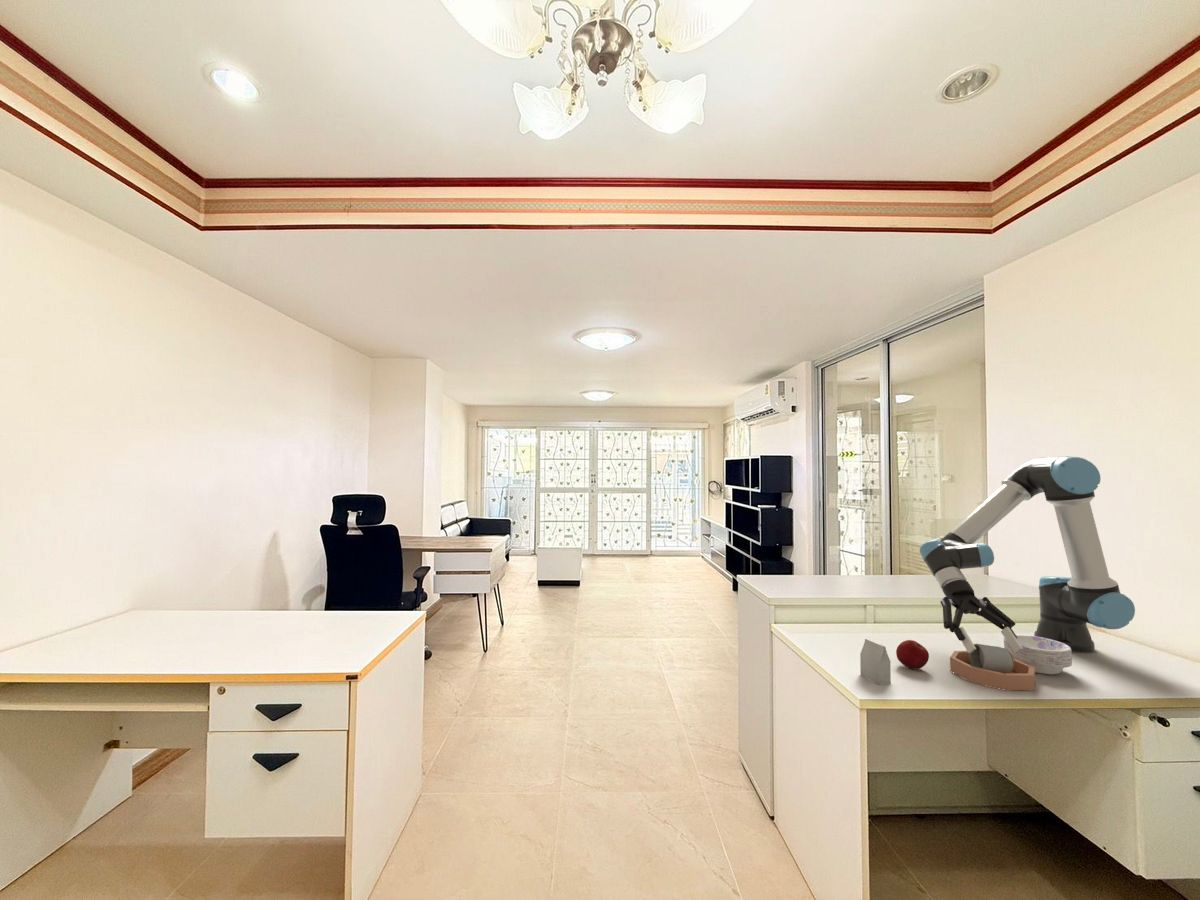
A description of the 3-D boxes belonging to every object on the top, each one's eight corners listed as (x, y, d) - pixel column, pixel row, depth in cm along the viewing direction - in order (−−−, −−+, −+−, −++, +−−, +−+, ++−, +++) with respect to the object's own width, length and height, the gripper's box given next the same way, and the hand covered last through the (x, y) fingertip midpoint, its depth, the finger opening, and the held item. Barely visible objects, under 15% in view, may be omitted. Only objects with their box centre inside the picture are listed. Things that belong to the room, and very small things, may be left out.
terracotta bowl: (996, 664, 150) (996, 650, 150) (1053, 690, 132) (1053, 675, 132) (937, 664, 150) (936, 650, 150) (986, 690, 131) (986, 675, 132)
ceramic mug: (1017, 678, 137) (1016, 650, 137) (984, 676, 138) (983, 648, 139) (993, 665, 147) (992, 638, 148) (962, 663, 148) (962, 636, 149)
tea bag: (879, 684, 134) (879, 647, 135) (860, 675, 141) (860, 639, 141) (890, 683, 135) (890, 646, 136) (871, 673, 142) (870, 638, 142)
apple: (912, 674, 142) (912, 645, 142) (890, 663, 149) (890, 636, 150) (935, 672, 143) (934, 644, 143) (912, 662, 151) (911, 635, 151)
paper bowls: (993, 663, 151) (992, 636, 152) (1022, 656, 157) (1021, 631, 158) (1054, 682, 137) (1054, 653, 138) (1083, 674, 143) (1082, 646, 144)
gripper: (986, 591, 158) (1030, 656, 143) (910, 591, 157) (946, 657, 142) (999, 578, 153) (1046, 644, 138) (921, 578, 152) (959, 644, 137)
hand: (995, 651), depth 140 cm, fingers open, 13 cm apart
